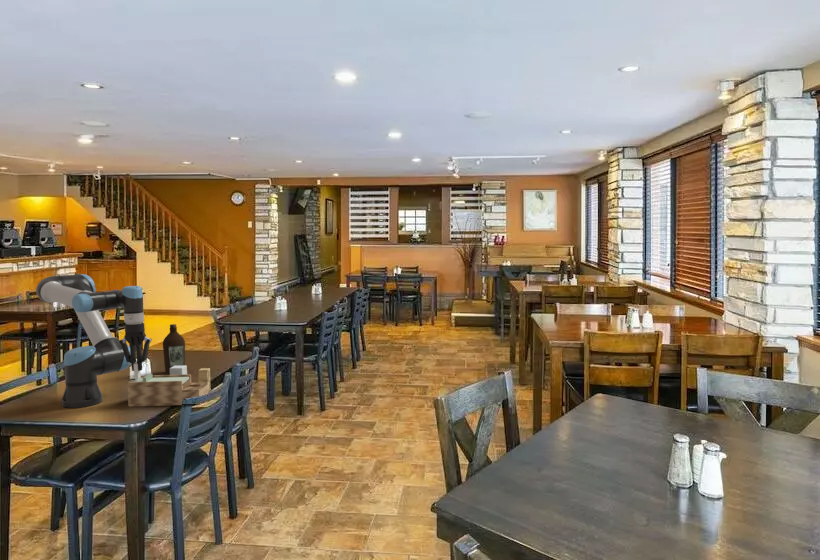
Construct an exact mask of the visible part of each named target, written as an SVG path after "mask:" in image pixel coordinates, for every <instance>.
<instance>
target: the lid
mask: <svg viewBox="0 0 820 560" xmlns="http://www.w3.org/2000/svg"><path fill="white" fill-rule="evenodd" d="M146 375H147V376H145V375H144V376H145V377H143V378H139V379H134V380H133V381H132V382H153V381H182V384H183V383H185V382H186V381H187V380H189V377H159V378H153V376H152V375H153V373H148V374H146Z"/></svg>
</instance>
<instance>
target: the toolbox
mask: <svg viewBox="0 0 820 560" xmlns="http://www.w3.org/2000/svg"><path fill="white" fill-rule="evenodd" d="M147 375H148V374H146V375H141V378H143V377H145V376H147ZM152 376H153V378H159V377H189V380H187V381H186V382H185V383H183V384H182V381H153V382H133V381H128V382H127V383H126V384H127V401H128V402H127V403H128V407H148V406H149V407H157V406H159V407H161V406H183V405H182V401H183V400H184V399H185V398H192V397H198V396H202V395H205V394H208V395H209V392H208V382H200V383H199V382H192V375H191V374H188V373H187V374H186V375H167V374H159V375H158V374H157V375H156V374H154V375H153V374H152ZM201 404H202V403H200V404H196V405H201Z"/></svg>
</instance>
